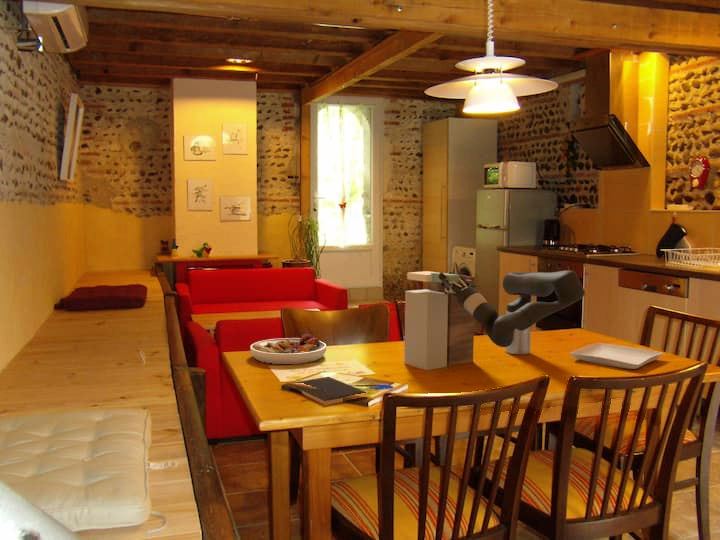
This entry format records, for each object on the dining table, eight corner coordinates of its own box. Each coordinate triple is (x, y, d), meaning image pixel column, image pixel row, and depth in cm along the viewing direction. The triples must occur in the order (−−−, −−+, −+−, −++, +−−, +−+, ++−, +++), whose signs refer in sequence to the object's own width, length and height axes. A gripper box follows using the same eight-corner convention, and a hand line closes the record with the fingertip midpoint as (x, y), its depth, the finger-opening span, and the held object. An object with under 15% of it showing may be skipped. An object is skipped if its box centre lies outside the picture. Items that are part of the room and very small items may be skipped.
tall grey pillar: (446, 366, 257) (448, 293, 254) (426, 370, 251) (427, 295, 248) (424, 360, 267) (425, 289, 264) (404, 363, 261) (405, 291, 259)
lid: (465, 282, 246) (465, 274, 246) (444, 284, 240) (444, 275, 240) (427, 277, 263) (427, 269, 263) (407, 279, 257) (407, 271, 257)
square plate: (568, 361, 268) (568, 351, 267) (597, 350, 288) (598, 341, 287) (637, 373, 249) (637, 363, 249) (664, 361, 269) (664, 351, 269)
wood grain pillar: (473, 362, 264) (475, 277, 261) (449, 366, 257) (450, 279, 254) (450, 355, 275) (452, 274, 272) (426, 359, 268) (428, 275, 265)
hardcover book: (324, 407, 207) (324, 399, 207) (288, 389, 226) (288, 383, 226) (367, 398, 216) (367, 391, 216) (330, 382, 235) (330, 376, 235)
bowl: (295, 370, 250) (295, 349, 249) (234, 360, 266) (234, 340, 265) (340, 355, 276) (340, 336, 275) (282, 346, 291) (282, 328, 291)
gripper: (491, 292, 238) (462, 264, 249) (462, 295, 230) (433, 266, 241) (483, 309, 242) (455, 281, 253) (454, 312, 234) (426, 283, 245)
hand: (444, 274), depth 247 cm, fingers closed on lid, 4 cm apart
